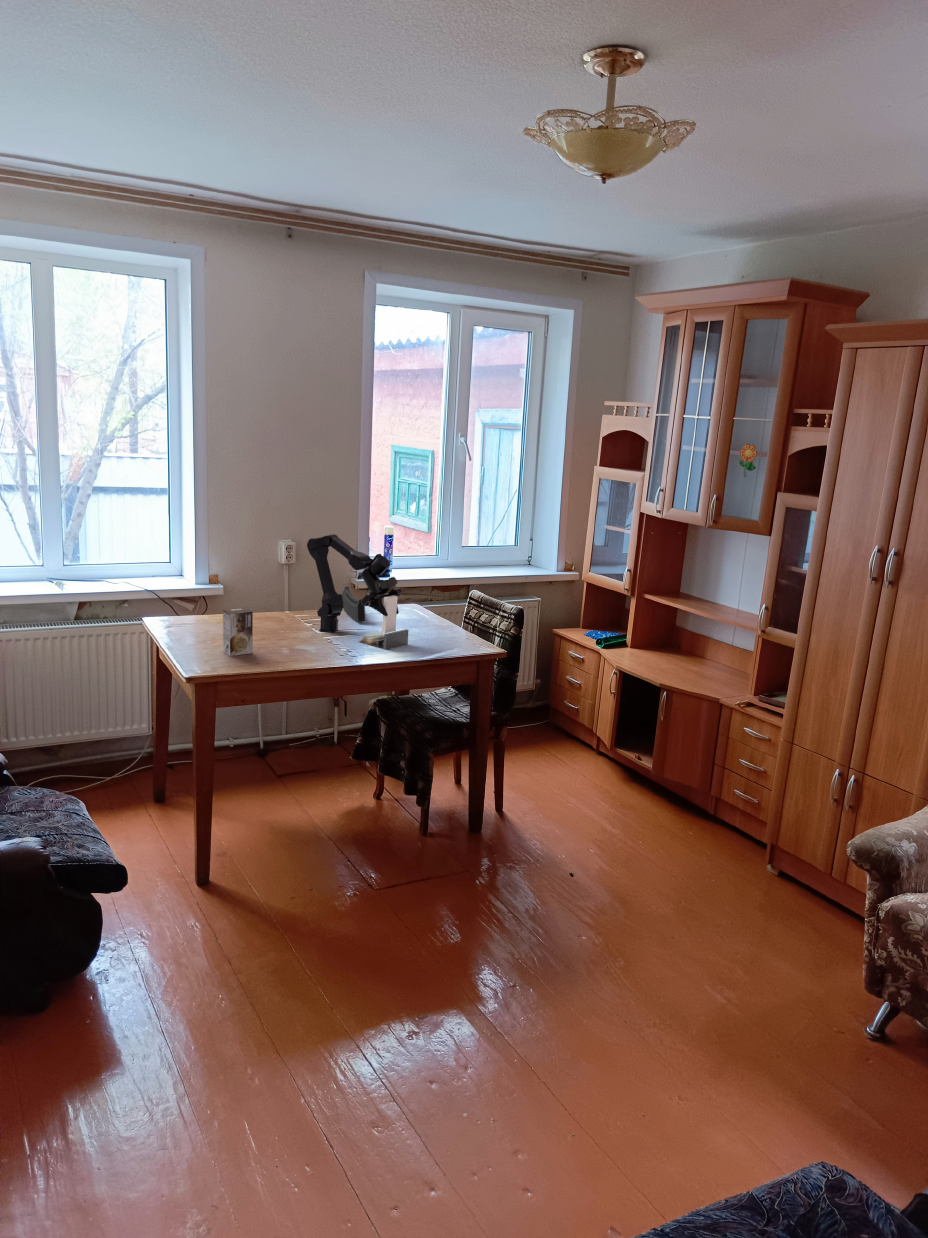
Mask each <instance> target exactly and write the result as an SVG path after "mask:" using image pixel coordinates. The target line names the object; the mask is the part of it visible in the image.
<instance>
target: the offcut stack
mask: <svg viewBox="0 0 928 1238" xmlns="http://www.w3.org/2000/svg"><path fill="white" fill-rule="evenodd" d="M381 639H384V634H383V633H382V634H381V633H376V634H369V635H363V636H362V638H361V639H360V640H359V641H360V642H363V643H367V644H370V645H372V644H376V642H377V640H381ZM363 643H362V644H363ZM367 644H366V645H367ZM370 645H369V646H370Z"/></svg>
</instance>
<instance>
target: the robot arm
mask: <svg viewBox="0 0 928 1238" xmlns="http://www.w3.org/2000/svg"><path fill="white" fill-rule="evenodd" d="M306 547H307V551H308V553H309V555H310V556H311V557H312V558H313V560H314V561H315V566H316V569H317V573H318V577H319V581H320V585H321V588H322V593H323V594H322V598H321V607H320V608H318V610H316V611H317V617H320V624H319V625H320V627H319V628H320V629H319V630H318V631H319V632H326V633H335V632H336V631H338V630H339V619H338V617H339V616H341V614H342V611H343V610H344V609H343V604H344V602H343V600H342V593H338V592H337V591H336V589H335V583H334V581H333V578H332V576H333V575H332V572H331V569H330V564H329V562H328V561H329V560H328V555H329V548H330V547H331V548H332V549H334V550H335V551H336V552H338V553H339V554H340V555H341V556H343V558H345V559H347V562H348V564H349V566H351V569H353V570H355V571H361V572H358V576H357V581H358V580H363V582H364V583H365V585H366V587H367V588H366V591H367V593H366V594H365V595H364V596H363V597H362V598H361V603H362V605H363V606H365V607H368V608H371V609H373V610H375V611H376V612H379V613H380V614H381V615H382V616H383V615H384V616H388V614H387V611H386V609H385V608H384V606H383V604H384V603H383V600H384V597H388V596H398V598H399V597H400V596H402V594H403V591H402V589H401V588H400V587H397V584H398V580H397V578H396V577H395V576H391V577H389V578H388V579H380V578H379V576H381V575H383V574H384V573H385V572H386V571H387V569H388V568H390V566H391V563H390V562H391V561H390V560H389V559H388V558H387V557H385V556H383V555H382V553H377V554H376V555H375V556H374V557H373V558H371V556H369V555H368V554H366V553H364V552H361V551H358V550H355V549H354V548H353V547H351V546H350V545H349V544H347V543H346V542H345V541H344V540H342V539H341V538H340V537H339V536H338V535H337V534H335V533H333V534H326V535H324V536H321V537H313V538H309V539H308V541H307V543H306ZM362 570H363V571H362ZM391 588H392V589H391ZM398 614H399V607H398V605H397V615H398Z"/></svg>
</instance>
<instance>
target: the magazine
mask: <svg viewBox="0 0 928 1238" xmlns="http://www.w3.org/2000/svg"><path fill="white" fill-rule="evenodd" d="M341 595H342V600H343V602H344V604H343V609H342V610H343V611H344V612H345V613H346V615H347V616H348V617H349V618H351V620H353V621H356V622H359V623H364V622H366V609H365V608H366V606H363V605H362V603H361V599H362V598H361V599H359V598H357V597H355V596H354V594H353V593H352V591H351V590H350V587H349V586H345V587H344V590H342V593H341Z"/></svg>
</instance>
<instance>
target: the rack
mask: <svg viewBox="0 0 928 1238" xmlns="http://www.w3.org/2000/svg"><path fill="white" fill-rule="evenodd" d="M409 632H410V631H409V629H408V628H405V629H401V630H398V631H393V632H388V633H384V634H383V635H384V639H381V640H377V642H376V644H372V645H370V644H367V643H363V642H360V640H359V641H358V643H360V644H364V645H366V646H371V647H375V648H377V649H381V650H385V651H386V650H392V649H396V648H399V647H404V646H407V645H408V644H409Z"/></svg>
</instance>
